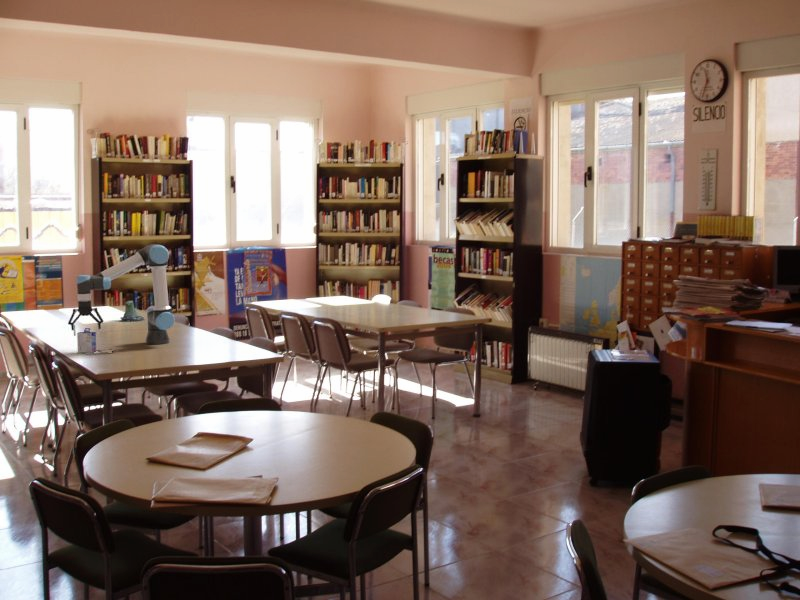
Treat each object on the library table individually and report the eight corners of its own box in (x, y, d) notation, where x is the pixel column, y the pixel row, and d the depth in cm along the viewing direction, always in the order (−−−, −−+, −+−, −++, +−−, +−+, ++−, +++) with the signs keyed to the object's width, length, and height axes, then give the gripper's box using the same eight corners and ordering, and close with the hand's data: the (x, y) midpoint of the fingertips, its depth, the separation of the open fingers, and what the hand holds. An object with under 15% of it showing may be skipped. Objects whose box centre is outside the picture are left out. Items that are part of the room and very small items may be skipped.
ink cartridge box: (97, 351, 524) (96, 328, 522) (92, 353, 518) (91, 329, 517) (82, 351, 526) (81, 327, 524) (77, 352, 520) (76, 329, 519)
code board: (113, 349, 532) (113, 349, 532) (111, 353, 519) (111, 352, 519) (79, 351, 528) (79, 350, 527) (76, 354, 514) (76, 354, 514)
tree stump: (151, 319, 675) (148, 298, 669) (135, 329, 658) (131, 307, 652) (132, 317, 682) (129, 296, 676) (116, 326, 665) (112, 305, 658)
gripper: (106, 298, 525) (108, 332, 528) (63, 300, 519) (65, 335, 522) (105, 300, 518) (107, 334, 520) (61, 302, 512) (64, 337, 514)
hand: (86, 335), depth 521 cm, fingers open, 13 cm apart
